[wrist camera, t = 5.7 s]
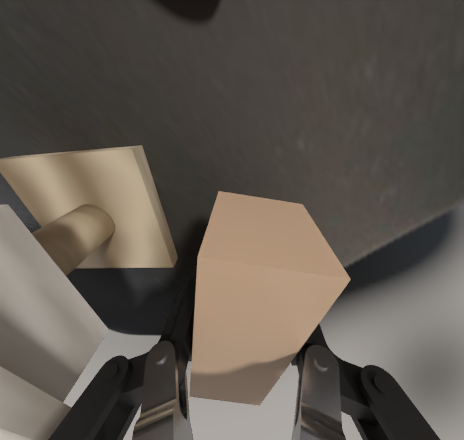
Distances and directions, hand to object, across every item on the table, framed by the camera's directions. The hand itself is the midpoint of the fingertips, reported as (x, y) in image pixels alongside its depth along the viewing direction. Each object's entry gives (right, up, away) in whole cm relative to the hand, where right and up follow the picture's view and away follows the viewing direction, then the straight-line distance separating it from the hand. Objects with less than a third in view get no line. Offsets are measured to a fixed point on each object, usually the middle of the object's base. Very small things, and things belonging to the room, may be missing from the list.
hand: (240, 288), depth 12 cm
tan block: (0, +1, +1) cm, 1 cm away
